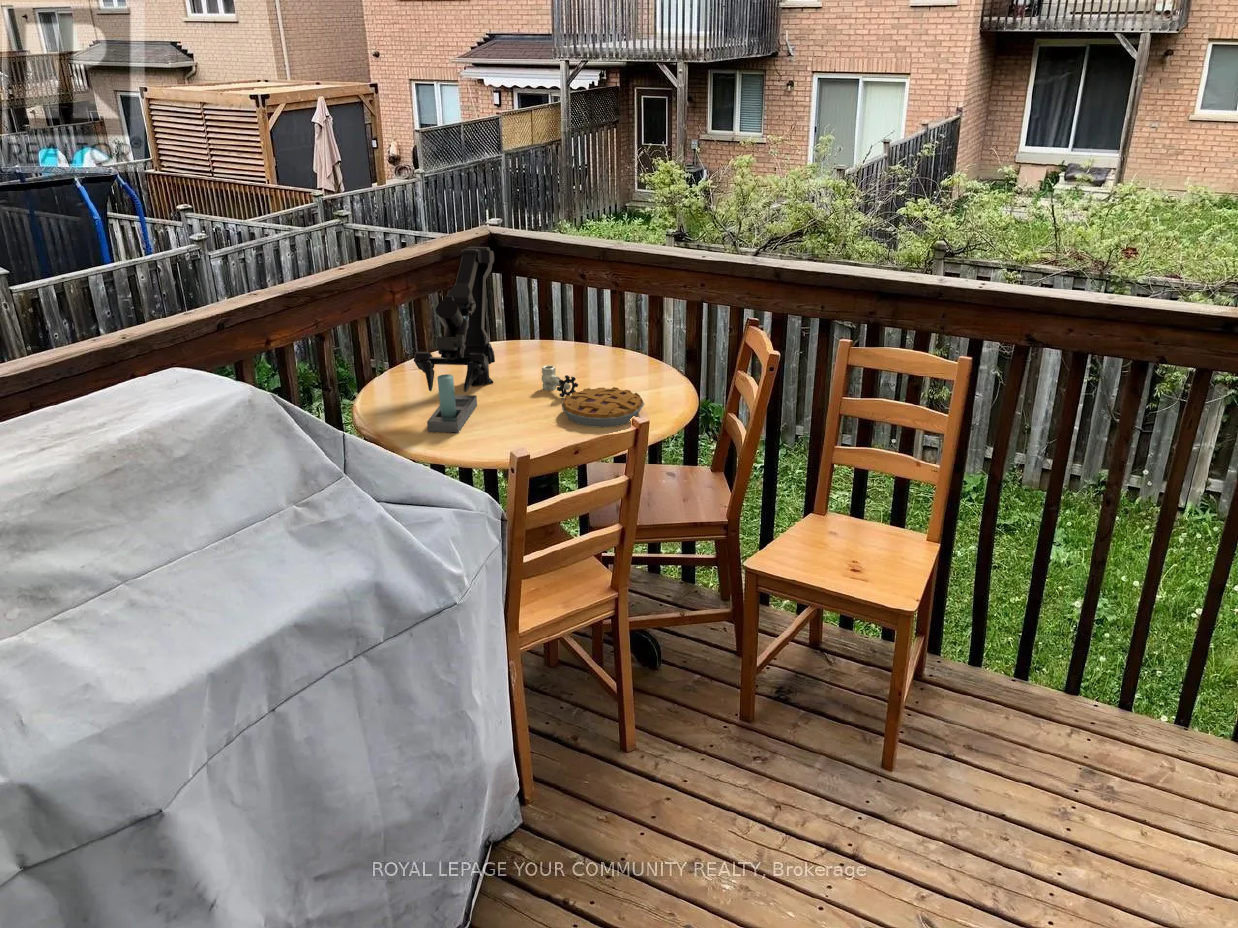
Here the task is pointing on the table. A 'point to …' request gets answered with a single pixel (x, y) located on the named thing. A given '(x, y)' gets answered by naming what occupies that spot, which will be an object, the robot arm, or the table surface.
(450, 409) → the dowel
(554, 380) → the valve
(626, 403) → the pie
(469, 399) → the grey slotted block
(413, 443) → the table surface
